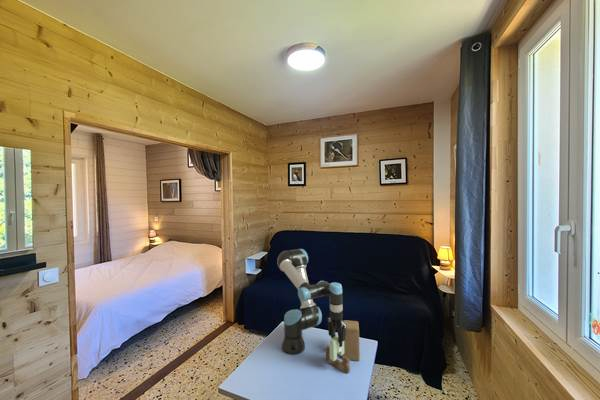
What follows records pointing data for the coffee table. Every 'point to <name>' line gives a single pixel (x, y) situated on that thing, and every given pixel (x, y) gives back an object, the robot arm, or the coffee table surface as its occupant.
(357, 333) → the wooden block
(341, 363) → the brown wooden bracket
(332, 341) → the pale green block
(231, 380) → the coffee table surface
